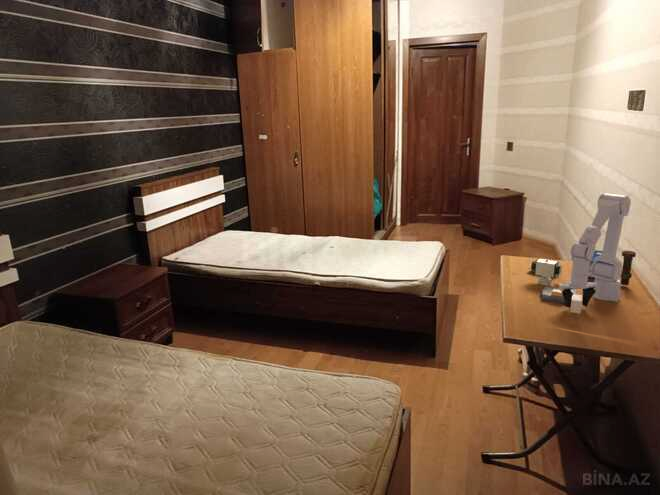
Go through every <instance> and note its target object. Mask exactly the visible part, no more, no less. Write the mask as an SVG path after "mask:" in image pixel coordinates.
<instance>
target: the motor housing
mask: <svg viewBox="0 0 660 495" xmlns="http://www.w3.org/2000/svg"><path fill="white" fill-rule="evenodd" d="M559 284H560V283H556V282H554V284H553V285H549V286H546V285H544V288H543V289H542V288H541V292H540V297H541V301H546V302H553V303H560V304H565V300H564V297H563V294H562V292H561V290H560V289H559ZM570 291H571V292H572V293H574V294H576V295H577V289H572V290H570ZM571 301H572V299H571Z"/></svg>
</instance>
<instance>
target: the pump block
mask: <svg viewBox="0 0 660 495" xmlns="http://www.w3.org/2000/svg"><path fill="white" fill-rule="evenodd" d="M582 299H583V294H577V293H576V294H573V296H572V301H571V305H570V313H574V314H579V315H580V314H582V313H581V312H582V306H583V305H582Z"/></svg>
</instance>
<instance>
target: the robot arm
mask: <svg viewBox="0 0 660 495" xmlns="http://www.w3.org/2000/svg"><path fill="white" fill-rule="evenodd" d="M631 203H632V201H631V199H630V195H623V194H622V195H621V194H612V193H607V192H602V193H601V194H600V195H599V196H598V199H597V211H596V214H595V215H594V219H593V220H592V223H591V224H590V226H587V227H585V229H584V231H583V233H582V235H581V236H580V238H579V239H578V242H575V243H573V245H572V246H571V249H570V256H571V261H572V264H571V265H572V268H571V275H570V281H569V282H567V283H558V284H559V289H560V290H561V292H562V294H563V297H564V300H565V303H564V305H565V307H566V308H567V309H569V308H570V309H571V299H572V296H573V294H574V293H572V292H571V291H570V290H572V289H576V290H582V305H581V306H584V307H588V305H589V303H590V300H591V299H592V297H593V298H594V299H597V300H601V301H610V302H619V299H620V298H621V297H620V296H621V292H620V291H621V285H622V284H621V277H620V276H621V274H622V268H623V261H622V260H620V259H619V257H617V251H618V248H619V247H618V246H619V243H620V237H621V232H622V228H623V223H624V218H625V217H627V216H628V215H629V212H630V208H631ZM606 223H607V226H606V232H605V237H604V242H603V246H602V247H603V248H602V250H601V251H602V253H601V254H600V256H598V257H596V258H595V259H594V263H593V265H592V267H591V272H592V274H593V275H594V277H595V278H594V281H593V282H588V278H589V277H588V272H589V264H590V259H591V258H592V257H593V255H594V251H595V250H596V246H597V243H598V241H599V240H600V238H601V236H602V231H601V229H602V228H604V226H605V224H606ZM601 261H602V262H601ZM605 262H607V263H605ZM619 279H620V280H619Z"/></svg>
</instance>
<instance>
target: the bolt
mask: <svg viewBox="0 0 660 495" xmlns="http://www.w3.org/2000/svg"><path fill="white" fill-rule="evenodd" d="M636 254H637V253H636V251H632V250H622V251H621V256H622V257H623V261H622V274H621V276H620V280H621V284H620V285H622V286H629V284H630V279H631V278H632V275H633V273H632V272H631V270H632V263H633V258H636Z"/></svg>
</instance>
